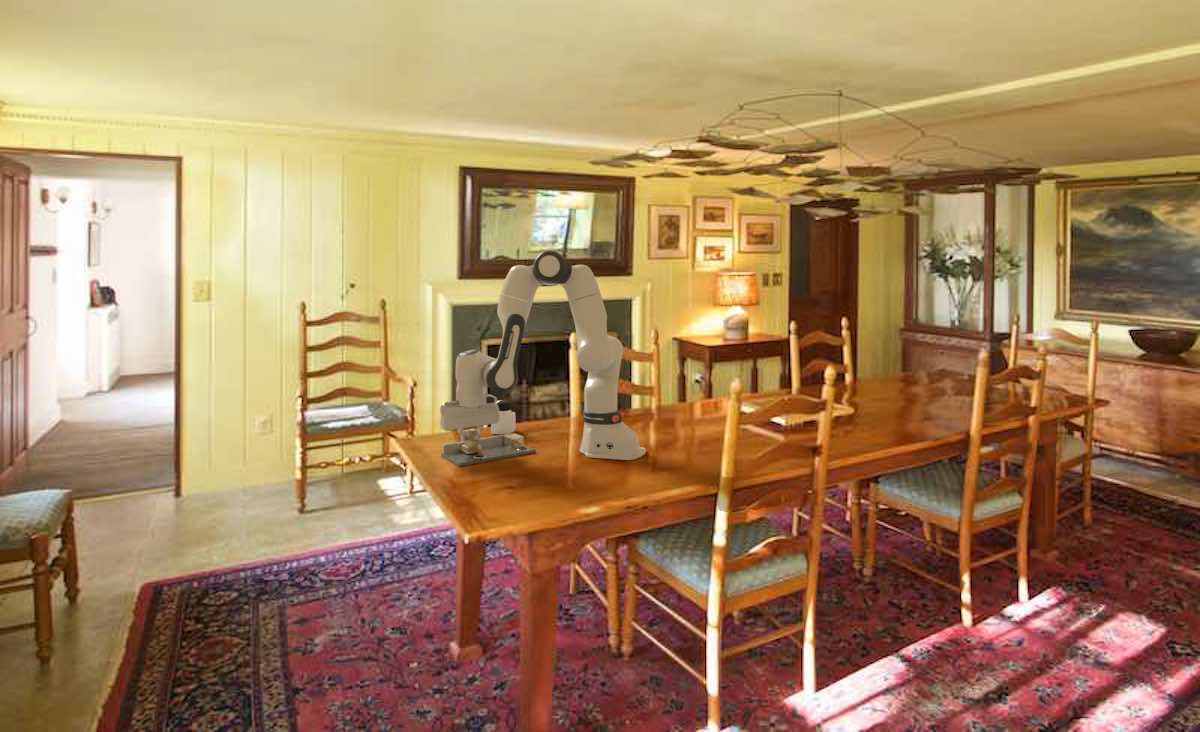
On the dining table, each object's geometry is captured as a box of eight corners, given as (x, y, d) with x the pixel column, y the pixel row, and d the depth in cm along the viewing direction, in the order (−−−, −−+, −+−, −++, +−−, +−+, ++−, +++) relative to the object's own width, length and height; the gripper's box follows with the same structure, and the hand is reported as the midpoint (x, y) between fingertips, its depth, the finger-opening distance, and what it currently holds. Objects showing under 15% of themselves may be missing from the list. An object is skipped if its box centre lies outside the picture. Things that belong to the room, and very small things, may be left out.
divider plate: (515, 443, 263) (515, 432, 263) (535, 452, 252) (535, 441, 251) (441, 456, 248) (440, 444, 247) (459, 466, 236) (458, 454, 236)
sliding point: (474, 448, 253) (474, 428, 251) (487, 454, 245) (487, 434, 244) (461, 450, 250) (460, 430, 249) (473, 457, 242) (473, 436, 241)
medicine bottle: (516, 430, 282) (515, 399, 280) (508, 435, 275) (508, 403, 274) (498, 429, 284) (497, 398, 282) (490, 433, 277) (490, 402, 275)
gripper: (444, 404, 238) (445, 446, 240) (501, 397, 250) (502, 437, 252) (436, 401, 243) (437, 442, 245) (492, 394, 255) (493, 433, 257)
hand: (470, 439), depth 249 cm, fingers closed on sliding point, 3 cm apart
